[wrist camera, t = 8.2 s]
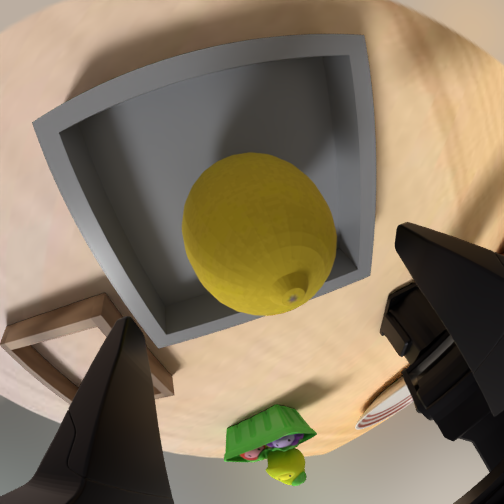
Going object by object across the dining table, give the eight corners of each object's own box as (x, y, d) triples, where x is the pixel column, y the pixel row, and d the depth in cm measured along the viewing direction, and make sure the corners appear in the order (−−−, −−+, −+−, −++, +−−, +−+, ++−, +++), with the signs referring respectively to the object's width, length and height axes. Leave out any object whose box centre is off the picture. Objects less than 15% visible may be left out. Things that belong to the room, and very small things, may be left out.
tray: (330, 39, 11) (364, 35, 8) (347, 250, 19) (370, 275, 17) (59, 113, 10) (32, 122, 7) (157, 313, 18) (158, 348, 16)
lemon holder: (105, 292, 16) (101, 315, 14) (172, 376, 23) (174, 395, 21) (6, 326, 15) (-1, 345, 13) (80, 394, 22) (78, 410, 20)
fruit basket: (279, 397, 31) (310, 477, 22) (310, 406, 36) (338, 470, 27) (213, 429, 33) (231, 500, 24) (251, 435, 38) (270, 494, 29)
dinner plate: (465, 340, 48) (473, 350, 46) (390, 409, 59) (395, 418, 56) (429, 336, 35) (440, 351, 33) (323, 426, 46) (329, 439, 43)
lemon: (184, 131, 12) (197, 199, 5) (295, 143, 13) (404, 215, 7) (176, 236, 14) (190, 366, 8) (274, 237, 16) (339, 346, 10)
